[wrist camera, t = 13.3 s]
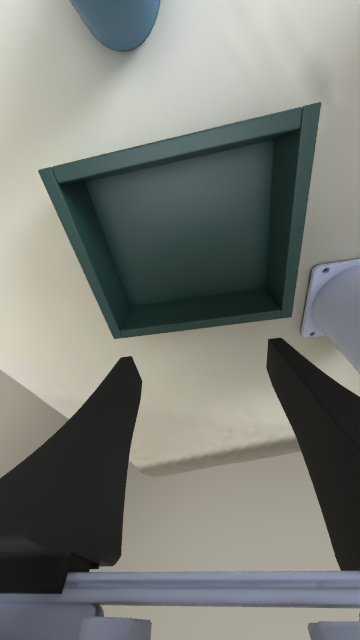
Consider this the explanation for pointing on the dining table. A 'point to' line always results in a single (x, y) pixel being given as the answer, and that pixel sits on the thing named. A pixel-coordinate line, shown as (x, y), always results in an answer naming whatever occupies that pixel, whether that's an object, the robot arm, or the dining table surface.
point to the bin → (192, 224)
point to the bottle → (118, 20)
